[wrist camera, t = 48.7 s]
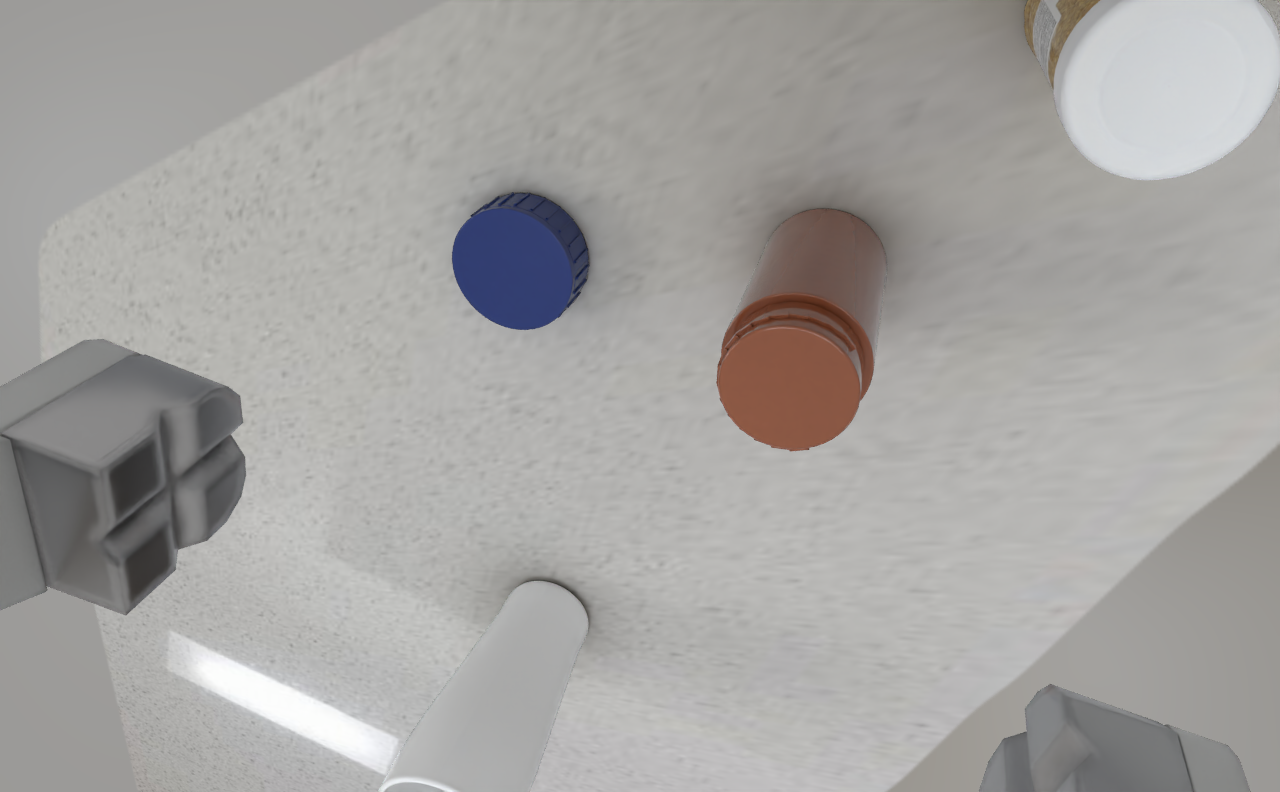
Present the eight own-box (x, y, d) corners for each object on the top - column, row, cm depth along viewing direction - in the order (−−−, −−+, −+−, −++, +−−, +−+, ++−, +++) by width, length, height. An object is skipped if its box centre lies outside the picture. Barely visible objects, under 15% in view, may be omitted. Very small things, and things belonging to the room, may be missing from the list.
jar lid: (607, 299, 43) (591, 319, 41) (500, 320, 45) (480, 340, 43) (563, 178, 40) (545, 193, 38) (452, 207, 43) (430, 223, 41)
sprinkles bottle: (1171, -74, 30) (1307, -37, 19) (1156, 68, 32) (1271, 177, 21) (1022, -52, 31) (1067, -5, 20) (1017, 83, 33) (1055, 192, 22)
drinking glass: (553, 551, 52) (432, 763, 40) (624, 630, 54) (530, 858, 42) (479, 589, 56) (347, 795, 43) (548, 662, 57) (440, 881, 45)
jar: (752, 217, 39) (694, 325, 30) (879, 199, 37) (858, 309, 28) (773, 329, 41) (725, 460, 32) (893, 317, 39) (878, 453, 30)
